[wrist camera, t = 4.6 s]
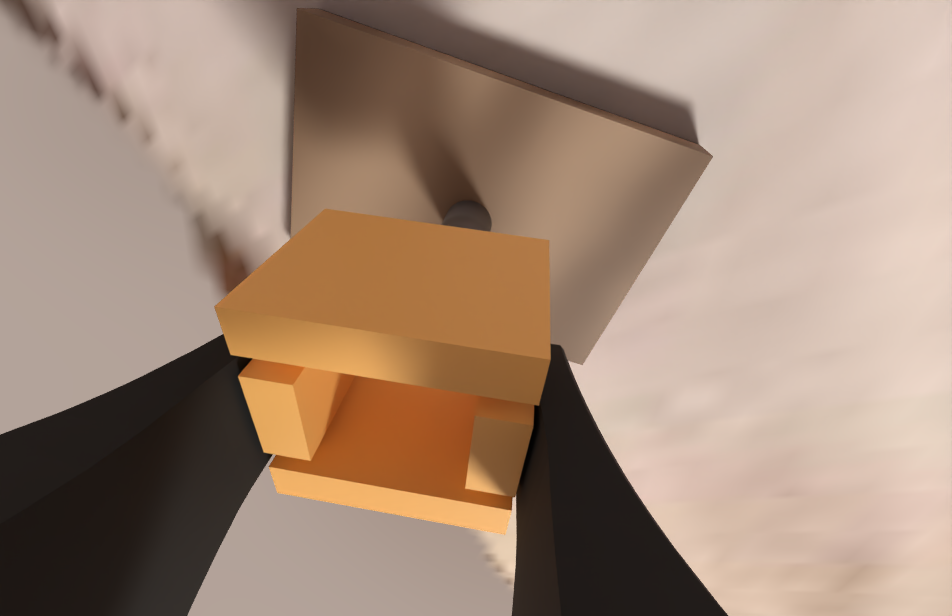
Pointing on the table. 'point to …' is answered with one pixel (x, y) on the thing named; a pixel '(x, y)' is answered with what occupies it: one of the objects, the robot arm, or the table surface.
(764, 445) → the table surface
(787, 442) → the table surface
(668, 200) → the keeper base
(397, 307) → the orange hollow frame block
